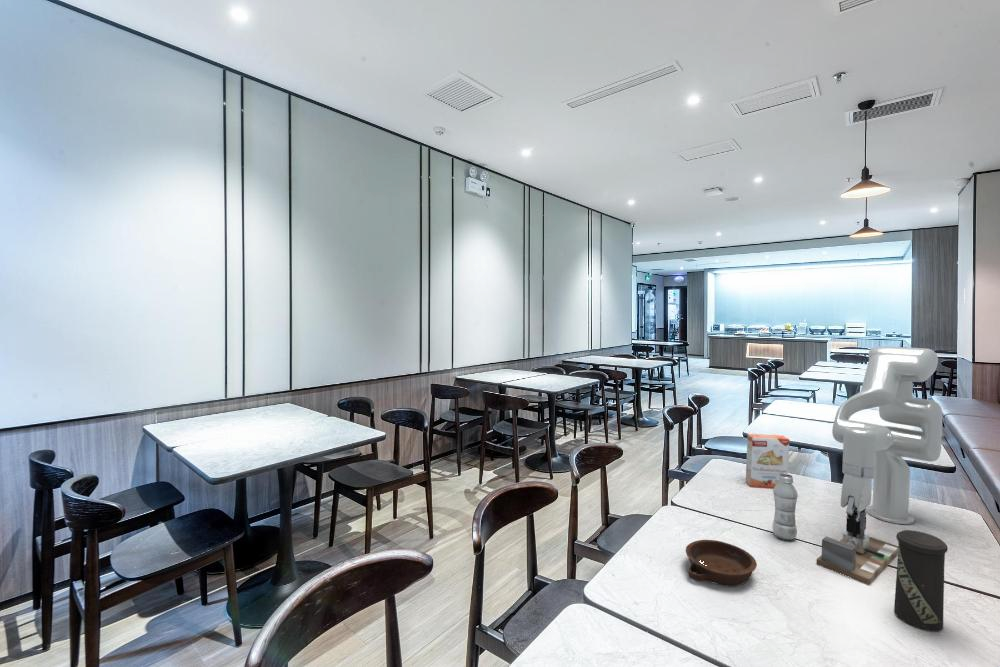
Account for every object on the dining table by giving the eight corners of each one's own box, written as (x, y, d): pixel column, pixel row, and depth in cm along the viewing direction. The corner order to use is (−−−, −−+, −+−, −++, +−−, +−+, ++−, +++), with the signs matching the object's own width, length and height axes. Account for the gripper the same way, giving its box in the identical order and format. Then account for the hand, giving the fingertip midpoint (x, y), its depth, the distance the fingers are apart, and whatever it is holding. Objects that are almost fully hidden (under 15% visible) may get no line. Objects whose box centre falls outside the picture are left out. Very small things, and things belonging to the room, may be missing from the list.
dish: (774, 577, 122) (775, 559, 121) (723, 603, 111) (724, 583, 110) (716, 547, 137) (716, 531, 136) (666, 568, 126) (666, 550, 126)
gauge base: (851, 535, 144) (852, 512, 143) (900, 551, 134) (901, 527, 133) (816, 564, 127) (817, 538, 127) (869, 585, 118) (870, 557, 117)
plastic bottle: (800, 543, 139) (802, 480, 138) (776, 541, 140) (778, 478, 139) (791, 533, 145) (793, 472, 144) (768, 531, 146) (770, 471, 145)
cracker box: (750, 487, 182) (752, 437, 181) (745, 482, 188) (746, 433, 187) (788, 489, 180) (790, 438, 179) (781, 484, 186) (783, 434, 185)
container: (882, 608, 109) (886, 527, 108) (916, 606, 109) (920, 526, 108) (919, 633, 100) (923, 546, 99) (955, 631, 101) (960, 544, 100)
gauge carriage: (848, 541, 136) (849, 506, 136) (886, 554, 129) (888, 517, 128) (834, 552, 130) (836, 515, 129) (874, 567, 122) (875, 528, 122)
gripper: (853, 460, 139) (850, 518, 140) (832, 471, 130) (830, 533, 131) (883, 467, 133) (881, 527, 134) (864, 479, 124) (861, 544, 124)
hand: (856, 529), depth 132 cm, fingers closed on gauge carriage, 4 cm apart
